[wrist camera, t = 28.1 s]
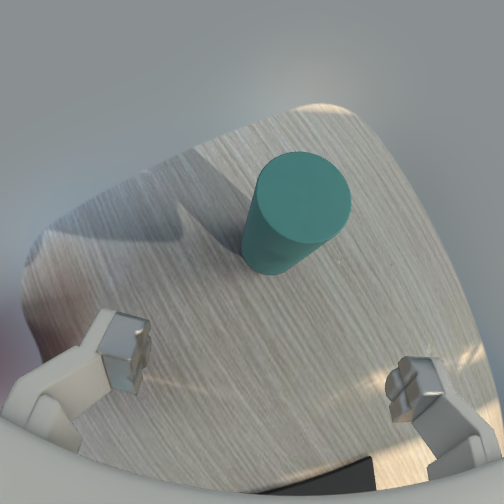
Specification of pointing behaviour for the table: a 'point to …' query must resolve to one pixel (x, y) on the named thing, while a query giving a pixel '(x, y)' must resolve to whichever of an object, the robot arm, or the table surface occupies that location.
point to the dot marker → (294, 211)
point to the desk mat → (334, 482)
